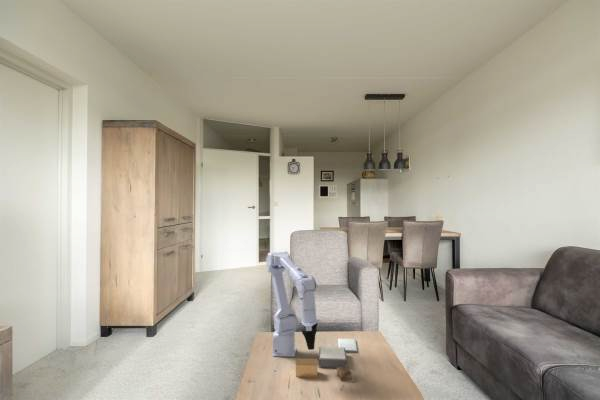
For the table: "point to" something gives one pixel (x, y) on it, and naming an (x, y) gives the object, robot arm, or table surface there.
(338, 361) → the stand
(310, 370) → the block
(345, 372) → the walnut block
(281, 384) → the table surface
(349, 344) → the hard drive
